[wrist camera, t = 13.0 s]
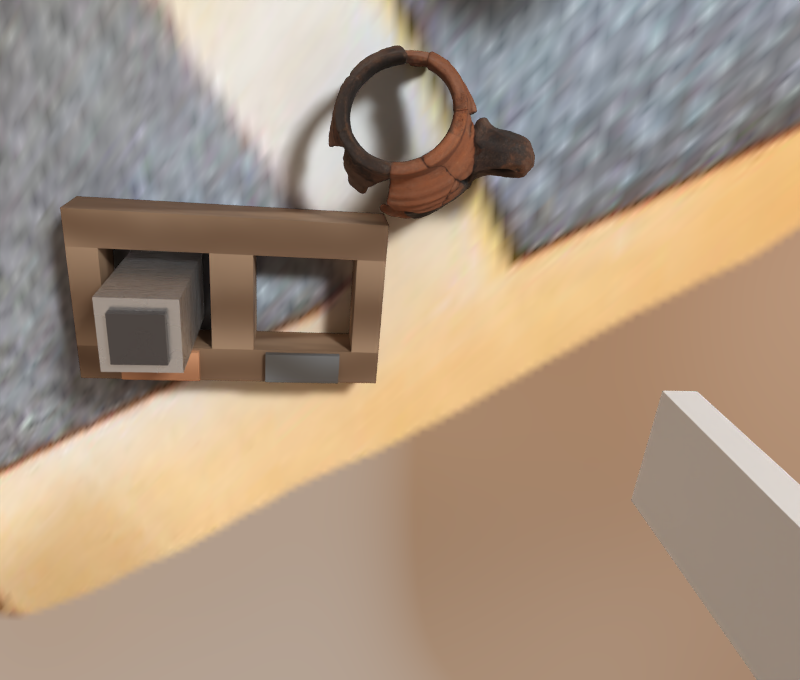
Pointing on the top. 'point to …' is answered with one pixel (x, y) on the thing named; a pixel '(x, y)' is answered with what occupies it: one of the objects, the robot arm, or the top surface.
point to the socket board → (234, 283)
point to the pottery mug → (443, 166)
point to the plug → (150, 312)
